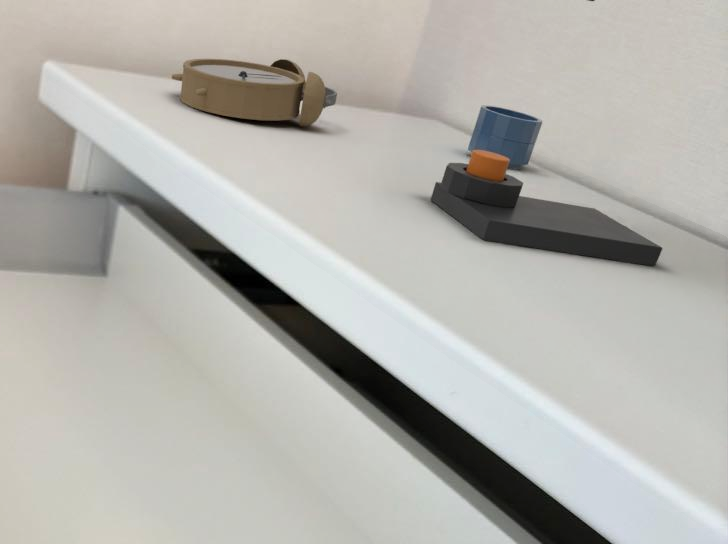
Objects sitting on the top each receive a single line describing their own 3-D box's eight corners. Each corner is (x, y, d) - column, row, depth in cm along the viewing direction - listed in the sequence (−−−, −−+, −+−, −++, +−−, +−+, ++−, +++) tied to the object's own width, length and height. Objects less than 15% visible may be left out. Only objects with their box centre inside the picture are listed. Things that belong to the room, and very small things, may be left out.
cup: (509, 158, 110) (525, 112, 107) (536, 174, 105) (553, 125, 102) (456, 149, 108) (471, 101, 106) (481, 164, 103) (497, 115, 101)
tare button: (492, 176, 83) (500, 153, 82) (508, 186, 81) (516, 162, 80) (459, 171, 82) (466, 147, 81) (474, 181, 80) (482, 156, 79)
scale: (586, 224, 88) (600, 186, 87) (655, 266, 80) (672, 225, 78) (424, 198, 84) (436, 158, 83) (478, 239, 76) (493, 196, 74)
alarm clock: (165, 55, 103) (313, 50, 107) (164, 110, 106) (309, 103, 109) (202, 79, 94) (361, 73, 98) (200, 139, 97) (355, 130, 101)
